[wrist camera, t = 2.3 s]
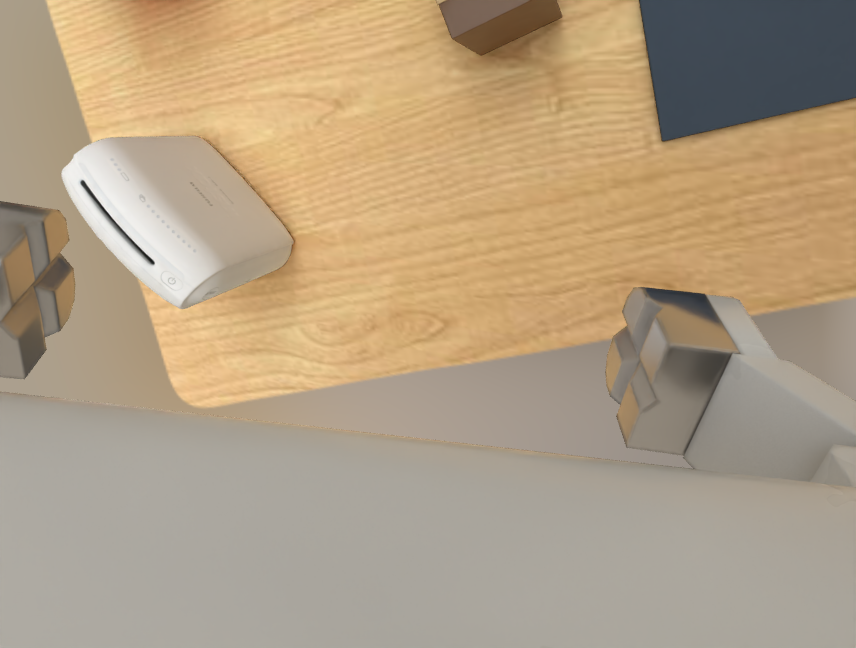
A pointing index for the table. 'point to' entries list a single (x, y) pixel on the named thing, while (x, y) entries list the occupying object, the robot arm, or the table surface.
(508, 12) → the box
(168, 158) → the photo printer
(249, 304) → the table surface
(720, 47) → the desk mat
